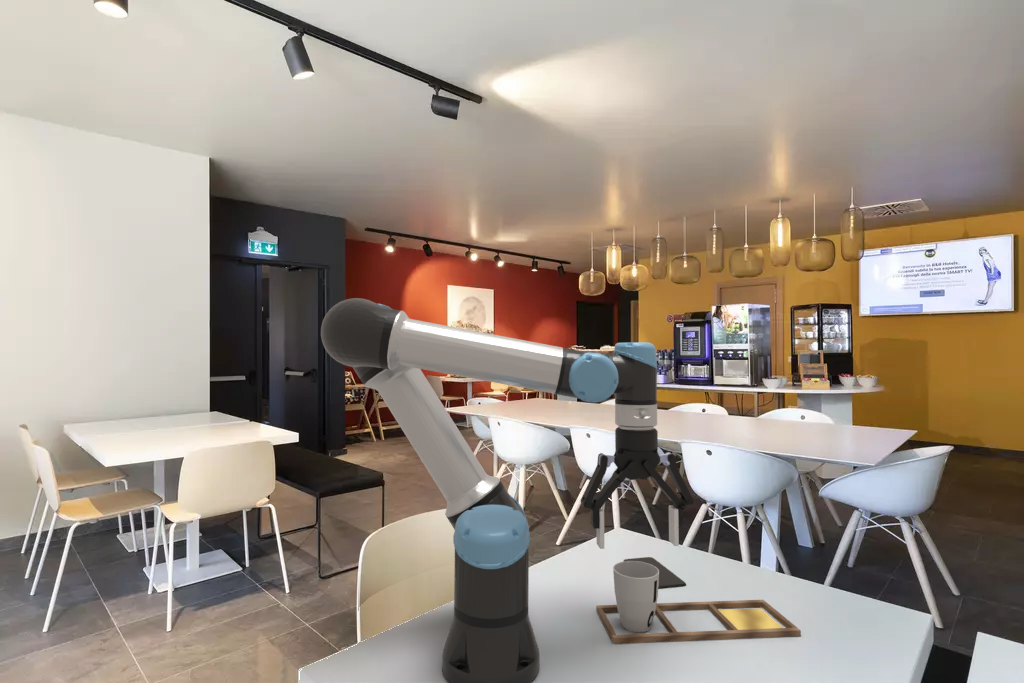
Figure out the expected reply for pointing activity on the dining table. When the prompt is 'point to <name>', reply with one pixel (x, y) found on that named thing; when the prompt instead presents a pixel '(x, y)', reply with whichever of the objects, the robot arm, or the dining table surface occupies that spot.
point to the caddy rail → (734, 620)
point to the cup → (636, 594)
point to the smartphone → (662, 573)
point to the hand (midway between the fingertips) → (637, 545)
